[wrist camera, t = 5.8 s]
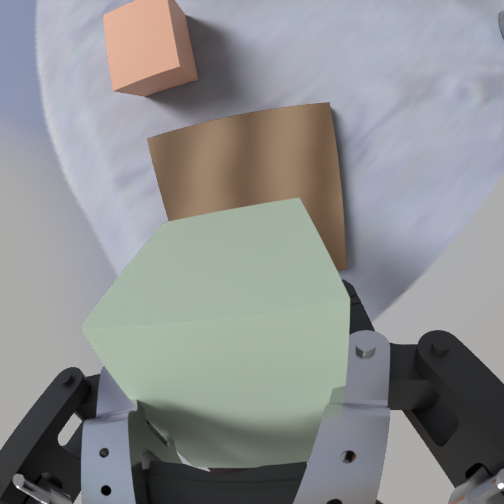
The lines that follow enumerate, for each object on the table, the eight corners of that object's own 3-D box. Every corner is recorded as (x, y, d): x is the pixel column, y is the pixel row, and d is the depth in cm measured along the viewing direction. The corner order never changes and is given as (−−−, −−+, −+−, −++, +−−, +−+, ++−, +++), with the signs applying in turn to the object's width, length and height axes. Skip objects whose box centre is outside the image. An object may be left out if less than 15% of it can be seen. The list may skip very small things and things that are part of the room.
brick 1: (185, 15, 17) (165, -11, 11) (198, 80, 20) (179, 66, 14) (134, 33, 17) (103, 15, 12) (145, 96, 20) (113, 91, 15)
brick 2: (299, 197, 9) (350, 298, 4) (314, 343, 12) (335, 458, 7) (163, 222, 10) (79, 328, 5) (212, 356, 13) (193, 466, 8)
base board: (325, 103, 20) (329, 102, 19) (342, 261, 26) (346, 268, 25) (153, 137, 22) (146, 138, 20) (194, 284, 28) (192, 292, 27)
